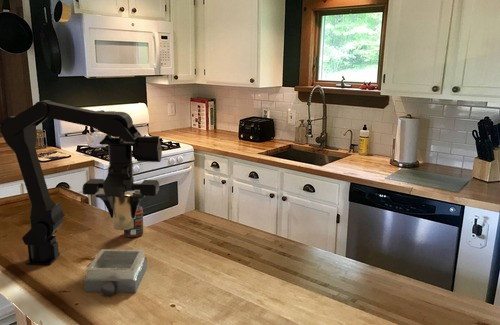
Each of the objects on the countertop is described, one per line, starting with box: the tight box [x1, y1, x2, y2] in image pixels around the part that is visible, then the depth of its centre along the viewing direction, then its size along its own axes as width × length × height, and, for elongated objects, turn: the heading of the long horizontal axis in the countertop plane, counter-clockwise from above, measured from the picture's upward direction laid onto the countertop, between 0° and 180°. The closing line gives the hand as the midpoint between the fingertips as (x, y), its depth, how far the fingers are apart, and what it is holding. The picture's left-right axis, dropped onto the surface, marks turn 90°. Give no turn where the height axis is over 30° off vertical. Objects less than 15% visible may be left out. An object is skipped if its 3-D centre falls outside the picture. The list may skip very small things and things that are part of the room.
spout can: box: [112, 191, 134, 231], centre depth 109 cm, size 5×6×11 cm
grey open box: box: [83, 248, 148, 297], centre depth 101 cm, size 12×14×6 cm
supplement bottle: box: [123, 202, 144, 238], centre depth 128 cm, size 6×6×11 cm
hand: (123, 217), depth 110 cm, fingers closed on spout can, 5 cm apart
